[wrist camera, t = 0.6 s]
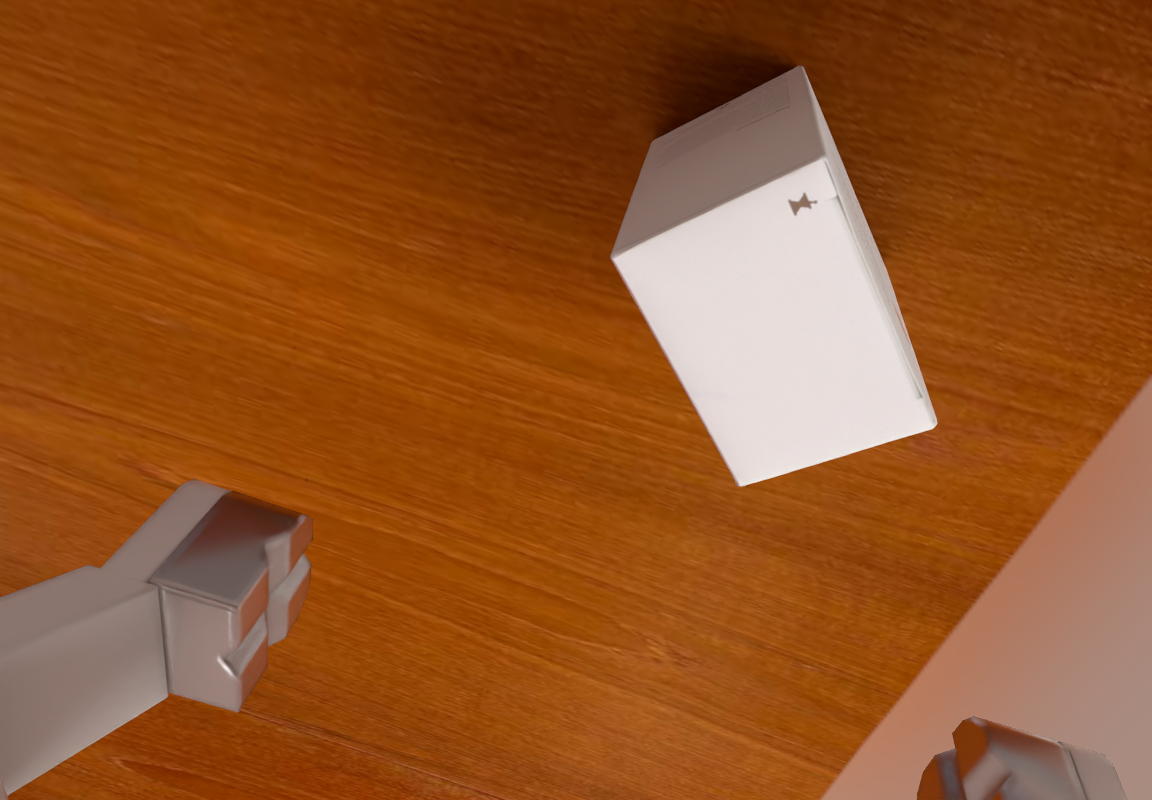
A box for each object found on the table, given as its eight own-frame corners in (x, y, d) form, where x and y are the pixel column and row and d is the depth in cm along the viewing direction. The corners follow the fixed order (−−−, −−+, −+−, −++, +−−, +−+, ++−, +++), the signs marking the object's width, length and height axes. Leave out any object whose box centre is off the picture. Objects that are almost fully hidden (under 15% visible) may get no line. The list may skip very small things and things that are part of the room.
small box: (649, 138, 29) (599, 250, 20) (804, 58, 27) (825, 146, 18) (742, 327, 32) (735, 496, 23) (889, 270, 30) (941, 433, 21)
